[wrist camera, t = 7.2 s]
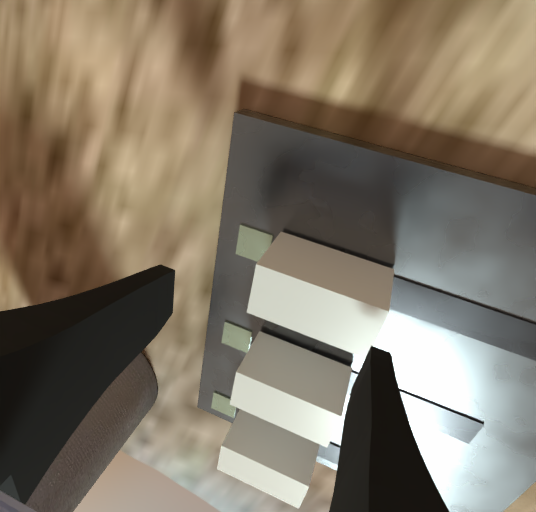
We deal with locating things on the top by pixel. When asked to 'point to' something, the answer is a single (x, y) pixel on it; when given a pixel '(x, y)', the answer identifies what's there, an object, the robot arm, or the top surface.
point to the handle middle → (292, 388)
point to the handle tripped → (322, 293)
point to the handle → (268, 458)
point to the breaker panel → (396, 292)
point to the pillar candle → (97, 439)
